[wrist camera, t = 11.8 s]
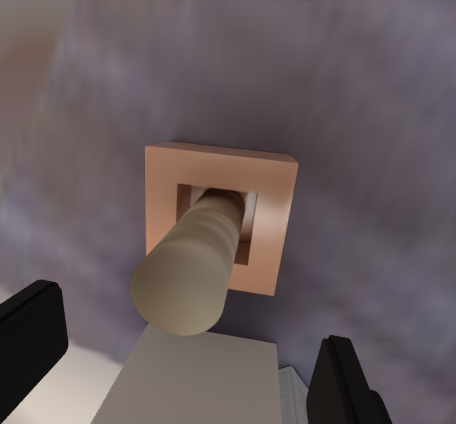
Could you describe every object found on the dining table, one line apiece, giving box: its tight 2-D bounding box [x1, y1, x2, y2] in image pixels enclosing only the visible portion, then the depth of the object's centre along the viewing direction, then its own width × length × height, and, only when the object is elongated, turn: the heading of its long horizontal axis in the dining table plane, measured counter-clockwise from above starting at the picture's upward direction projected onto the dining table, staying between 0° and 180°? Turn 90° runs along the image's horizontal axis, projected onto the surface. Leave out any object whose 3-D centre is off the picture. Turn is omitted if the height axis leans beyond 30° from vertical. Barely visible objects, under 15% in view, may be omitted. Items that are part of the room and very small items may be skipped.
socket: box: [145, 141, 299, 296], centre depth 20 cm, size 10×10×5 cm
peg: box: [130, 188, 245, 336], centre depth 16 cm, size 4×4×12 cm
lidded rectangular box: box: [91, 323, 282, 424], centre depth 17 cm, size 16×8×20 cm, turn 85°
